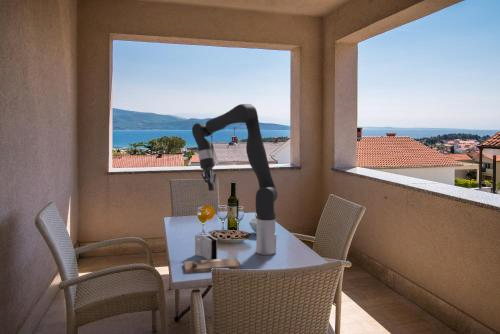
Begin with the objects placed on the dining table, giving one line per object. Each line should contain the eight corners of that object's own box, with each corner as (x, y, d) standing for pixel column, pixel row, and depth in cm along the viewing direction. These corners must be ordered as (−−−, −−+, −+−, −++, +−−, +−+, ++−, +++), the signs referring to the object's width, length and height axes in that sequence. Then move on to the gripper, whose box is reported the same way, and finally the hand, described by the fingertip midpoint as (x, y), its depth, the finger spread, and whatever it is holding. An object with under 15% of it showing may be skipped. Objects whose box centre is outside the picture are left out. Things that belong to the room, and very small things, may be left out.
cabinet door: (236, 261, 174) (236, 254, 173) (241, 268, 164) (241, 261, 164) (183, 264, 168) (183, 258, 167) (185, 273, 158) (185, 265, 158)
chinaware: (266, 229, 233) (266, 217, 233) (278, 235, 220) (279, 222, 219) (244, 231, 227) (244, 219, 226) (256, 238, 213) (256, 224, 213)
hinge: (194, 255, 182) (194, 234, 181) (203, 252, 186) (203, 232, 185) (212, 262, 172) (212, 240, 171) (221, 259, 176) (221, 238, 175)
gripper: (206, 156, 195) (211, 188, 192) (217, 158, 207) (223, 189, 204) (194, 159, 198) (199, 191, 195) (206, 162, 210) (211, 192, 207)
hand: (211, 190), depth 200 cm, fingers closed
